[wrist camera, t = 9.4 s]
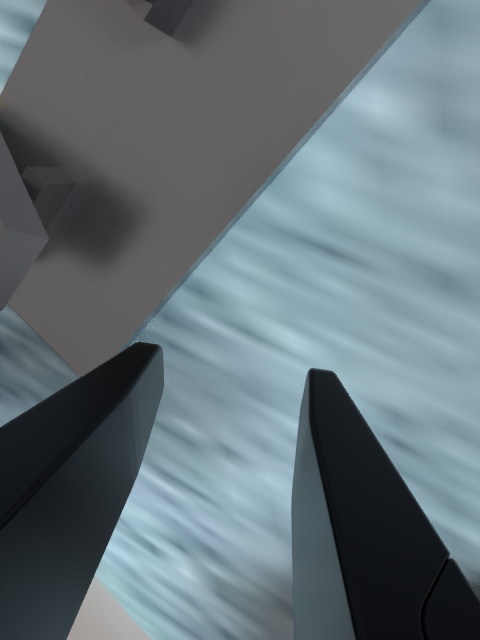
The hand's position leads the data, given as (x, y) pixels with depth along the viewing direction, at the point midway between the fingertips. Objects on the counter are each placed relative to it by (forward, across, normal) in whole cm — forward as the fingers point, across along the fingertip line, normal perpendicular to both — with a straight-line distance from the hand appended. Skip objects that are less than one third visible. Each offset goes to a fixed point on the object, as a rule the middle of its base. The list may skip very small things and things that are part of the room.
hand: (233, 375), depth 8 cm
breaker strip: (+14, +6, -1) cm, 15 cm away
